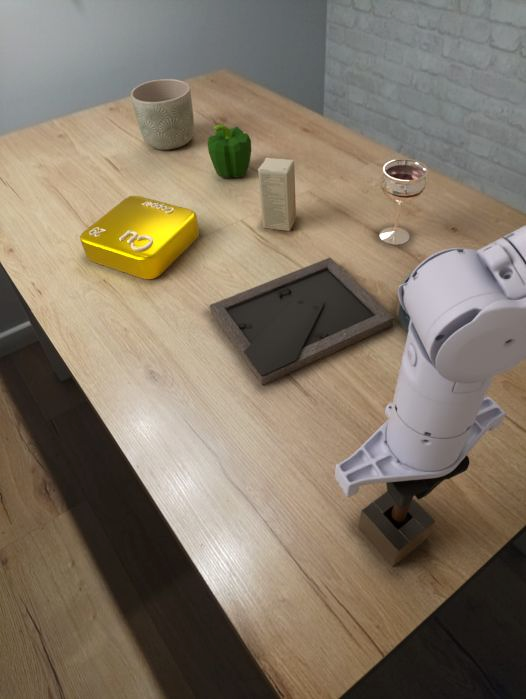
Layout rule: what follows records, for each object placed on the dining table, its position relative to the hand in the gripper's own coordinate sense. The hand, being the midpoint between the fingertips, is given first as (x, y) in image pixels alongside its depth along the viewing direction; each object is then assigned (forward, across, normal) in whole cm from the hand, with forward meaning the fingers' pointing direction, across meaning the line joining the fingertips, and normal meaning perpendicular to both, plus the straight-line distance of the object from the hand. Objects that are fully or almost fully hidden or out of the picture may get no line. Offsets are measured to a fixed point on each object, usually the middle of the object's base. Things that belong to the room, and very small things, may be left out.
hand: (405, 493), depth 47 cm
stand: (+8, 0, 0) cm, 8 cm away
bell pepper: (+8, -13, -76) cm, 78 cm away
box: (+8, -13, -56) cm, 58 cm away
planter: (+8, -6, -96) cm, 96 cm away
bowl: (+8, -23, -24) cm, 34 cm away
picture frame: (+8, -6, -32) cm, 34 cm away
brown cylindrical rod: (+4, 0, 0) cm, 4 cm away
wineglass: (+9, -29, -43) cm, 52 cm away
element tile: (+8, +10, -61) cm, 62 cm away
